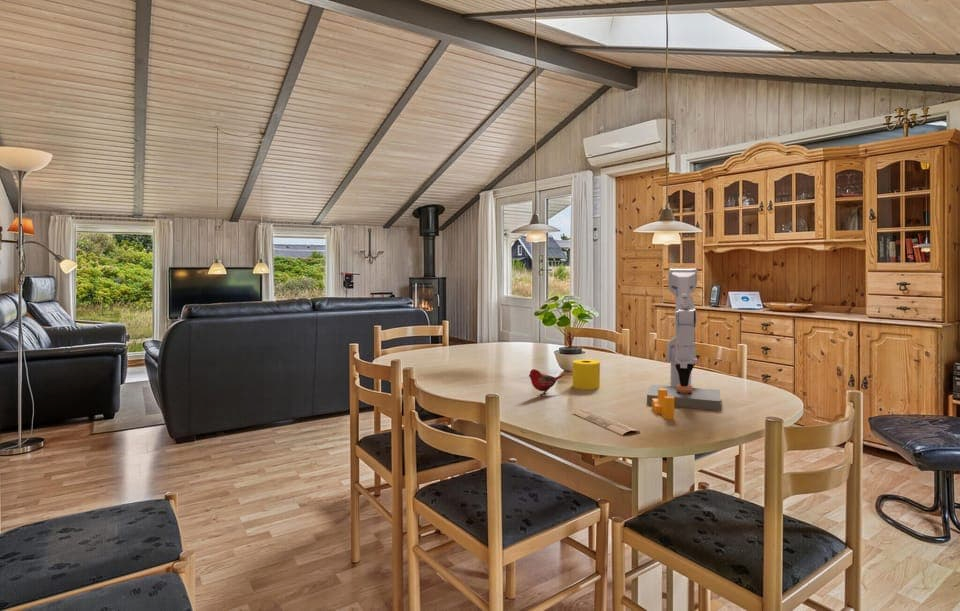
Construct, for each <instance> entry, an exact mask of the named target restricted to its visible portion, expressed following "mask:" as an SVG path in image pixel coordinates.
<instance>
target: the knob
mask: <svg viewBox="0 0 960 611" xmlns="http://www.w3.org/2000/svg"><path fill="white" fill-rule="evenodd" d="M692 388H693V387H692V386H691V385H688V386H681V385H680V384H677V385H676V391H677V392H680V393H681V394H688V393H691V392H692Z"/></svg>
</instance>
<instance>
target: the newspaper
mask: <svg viewBox="0 0 960 611" xmlns="http://www.w3.org/2000/svg"><path fill="white" fill-rule="evenodd" d="M572 413H574V414H576V415H579V416H581V417H583V418H585V419H587V420H586V421H588V420H589V421H588V422H590V421H591V422H590V423H592V422H594V423H596V424H595V425H597V424H598V425H597V426H599V425H600V426H599V427H601V426H602V427H601V428H604V427H605V428H604V429H606V428H607V429H606V430H608V429H609V430H608V431H610V432H613V433H615V434H617V433H618V435H620V436H622V437H623V436H624V434H626V433H628V432H631V431H632V432H635V433H636V434H637V433H641V431H640V430H638V429H636V428H634V427H631V426H629V425H626V424H623V423H621V422H618V421H616V420H613V419H611V418H608V417H606V416H604V415H601V414H599V413H596V412H594V411H592V410H588V409H583V408H581V409H577V410H574V411H572ZM574 414H573V415H574ZM576 415H575V416H576ZM581 417H580V418H581ZM583 418H582V419H583ZM585 419H584V420H585ZM594 423H593V424H594Z"/></svg>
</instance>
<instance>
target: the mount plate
mask: <svg viewBox="0 0 960 611" xmlns="http://www.w3.org/2000/svg"><path fill="white" fill-rule="evenodd" d="M658 389H667V390H668V397H674V407H676V408H677V407H679V408H689V409H700V410H701V409H702V410H708V409H710V411H719V410H720V411H721V391H720V389H712V388H701V387H700V388H699V387H692V392H691V393H688V394H681V393H680V392H677V391H676V387H675V386H669V385H660V384H651V386H650V388H649V391H647V394H646V404H647V405H652V399H658Z"/></svg>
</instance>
